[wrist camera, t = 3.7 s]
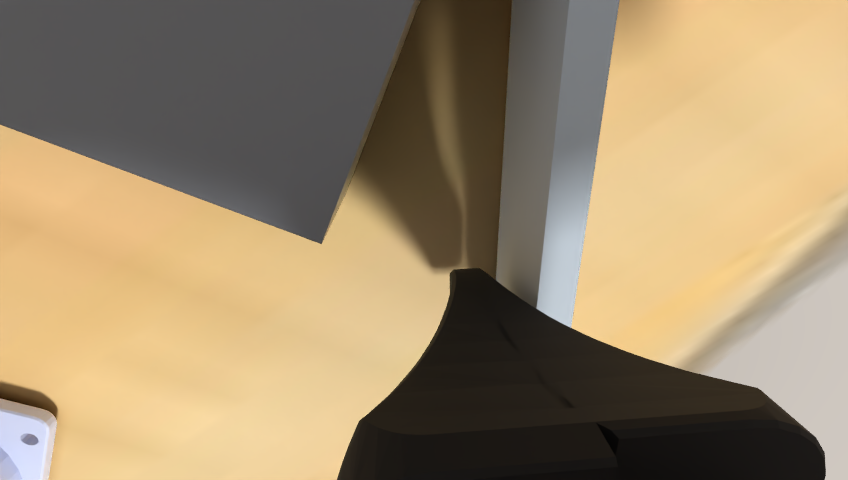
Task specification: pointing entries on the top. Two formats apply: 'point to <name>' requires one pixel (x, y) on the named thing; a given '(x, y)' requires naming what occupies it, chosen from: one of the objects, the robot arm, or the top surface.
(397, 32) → the grey flat block
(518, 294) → the side door
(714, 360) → the top surface
